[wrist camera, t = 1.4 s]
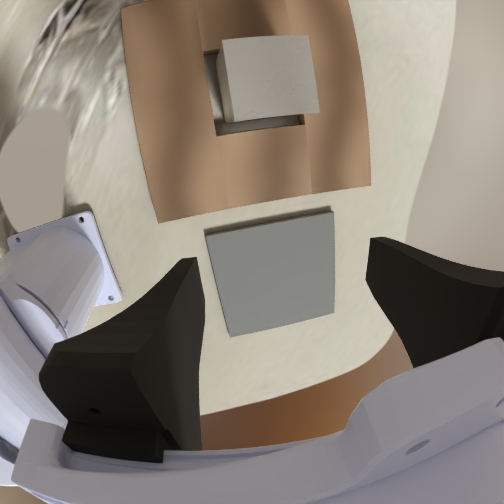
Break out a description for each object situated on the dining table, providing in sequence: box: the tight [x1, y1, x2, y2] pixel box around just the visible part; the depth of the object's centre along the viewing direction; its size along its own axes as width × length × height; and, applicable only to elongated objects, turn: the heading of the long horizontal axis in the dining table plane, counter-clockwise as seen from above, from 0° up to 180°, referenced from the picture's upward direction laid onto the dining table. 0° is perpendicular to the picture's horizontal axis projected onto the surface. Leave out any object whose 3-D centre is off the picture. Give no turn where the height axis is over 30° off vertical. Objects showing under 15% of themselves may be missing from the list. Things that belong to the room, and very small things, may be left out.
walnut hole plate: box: [121, 0, 371, 223], centre depth 17 cm, size 16×16×1 cm
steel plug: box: [216, 35, 320, 123], centre depth 15 cm, size 4×4×6 cm
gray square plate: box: [206, 211, 335, 337], centre depth 24 cm, size 10×10×1 cm
